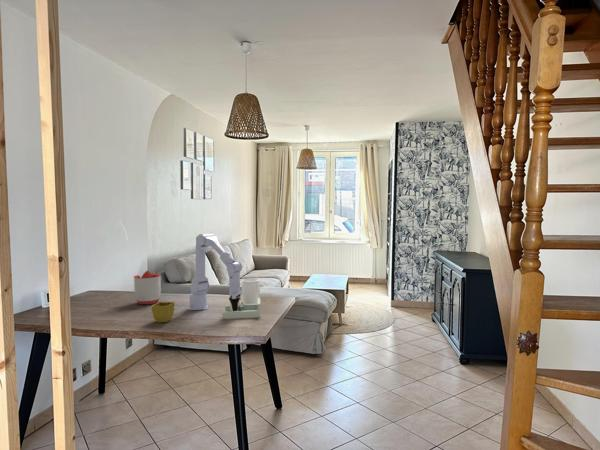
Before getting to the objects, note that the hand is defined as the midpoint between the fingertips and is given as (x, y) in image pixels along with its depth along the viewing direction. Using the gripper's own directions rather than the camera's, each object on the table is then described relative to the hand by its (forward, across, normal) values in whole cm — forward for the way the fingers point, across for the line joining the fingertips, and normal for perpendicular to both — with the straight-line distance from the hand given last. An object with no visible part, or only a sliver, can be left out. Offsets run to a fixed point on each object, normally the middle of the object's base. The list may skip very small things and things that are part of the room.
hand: (235, 309), depth 214 cm
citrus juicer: (+3, +37, +56) cm, 67 cm away
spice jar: (+3, 0, 0) cm, 3 cm away
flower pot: (+3, -7, +36) cm, 37 cm away
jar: (+3, +21, -8) cm, 23 cm away
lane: (+3, 0, -3) cm, 4 cm away
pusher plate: (+3, 0, -4) cm, 4 cm away
